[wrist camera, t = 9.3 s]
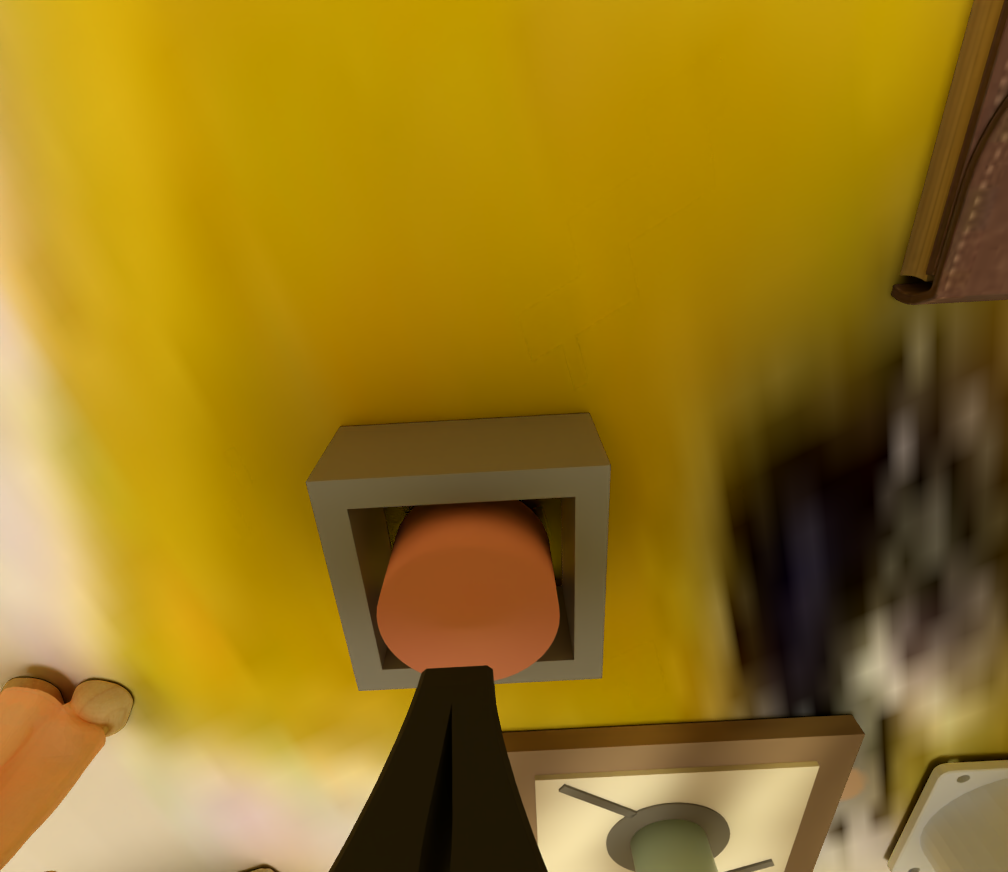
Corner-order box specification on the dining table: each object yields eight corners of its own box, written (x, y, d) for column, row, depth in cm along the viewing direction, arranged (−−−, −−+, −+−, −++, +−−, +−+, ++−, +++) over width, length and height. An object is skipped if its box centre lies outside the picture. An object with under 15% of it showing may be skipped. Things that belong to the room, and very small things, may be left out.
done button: (548, 483, 14) (558, 541, 12) (551, 608, 16) (560, 678, 14) (383, 492, 14) (361, 551, 12) (405, 615, 16) (391, 687, 14)
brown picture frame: (852, 714, 21) (869, 741, 20) (793, 877, 26) (805, 905, 25) (494, 733, 21) (493, 760, 20) (509, 891, 26) (509, 919, 25)
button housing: (589, 412, 15) (610, 465, 12) (585, 602, 18) (601, 678, 15) (340, 426, 15) (305, 481, 12) (379, 613, 18) (358, 691, 15)
